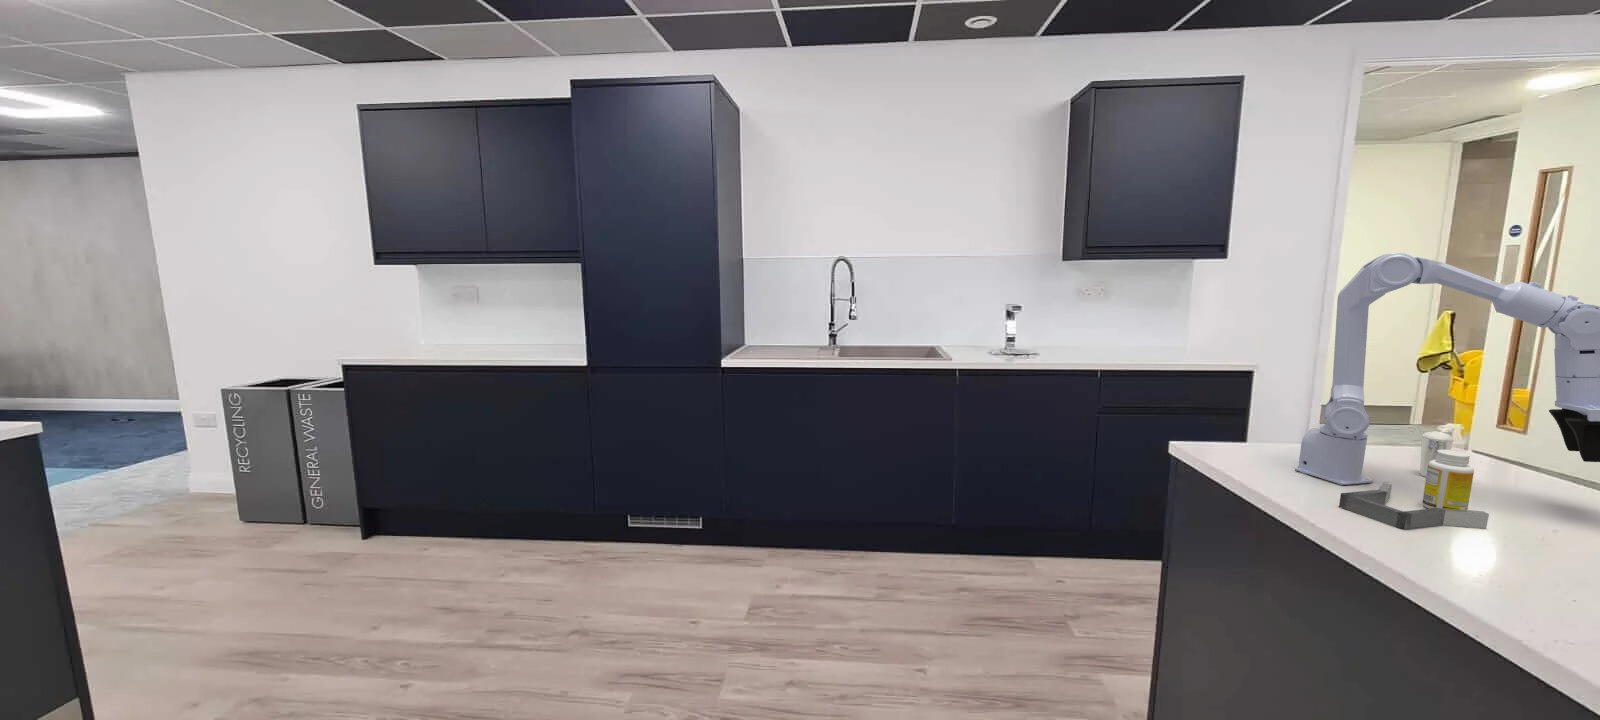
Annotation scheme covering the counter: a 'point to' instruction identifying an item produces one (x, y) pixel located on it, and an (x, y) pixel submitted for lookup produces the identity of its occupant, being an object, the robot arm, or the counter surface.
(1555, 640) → the counter surface
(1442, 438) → the milkshake
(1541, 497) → the counter surface
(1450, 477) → the supplement bottle
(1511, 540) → the counter surface
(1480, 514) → the grey angular open frame
